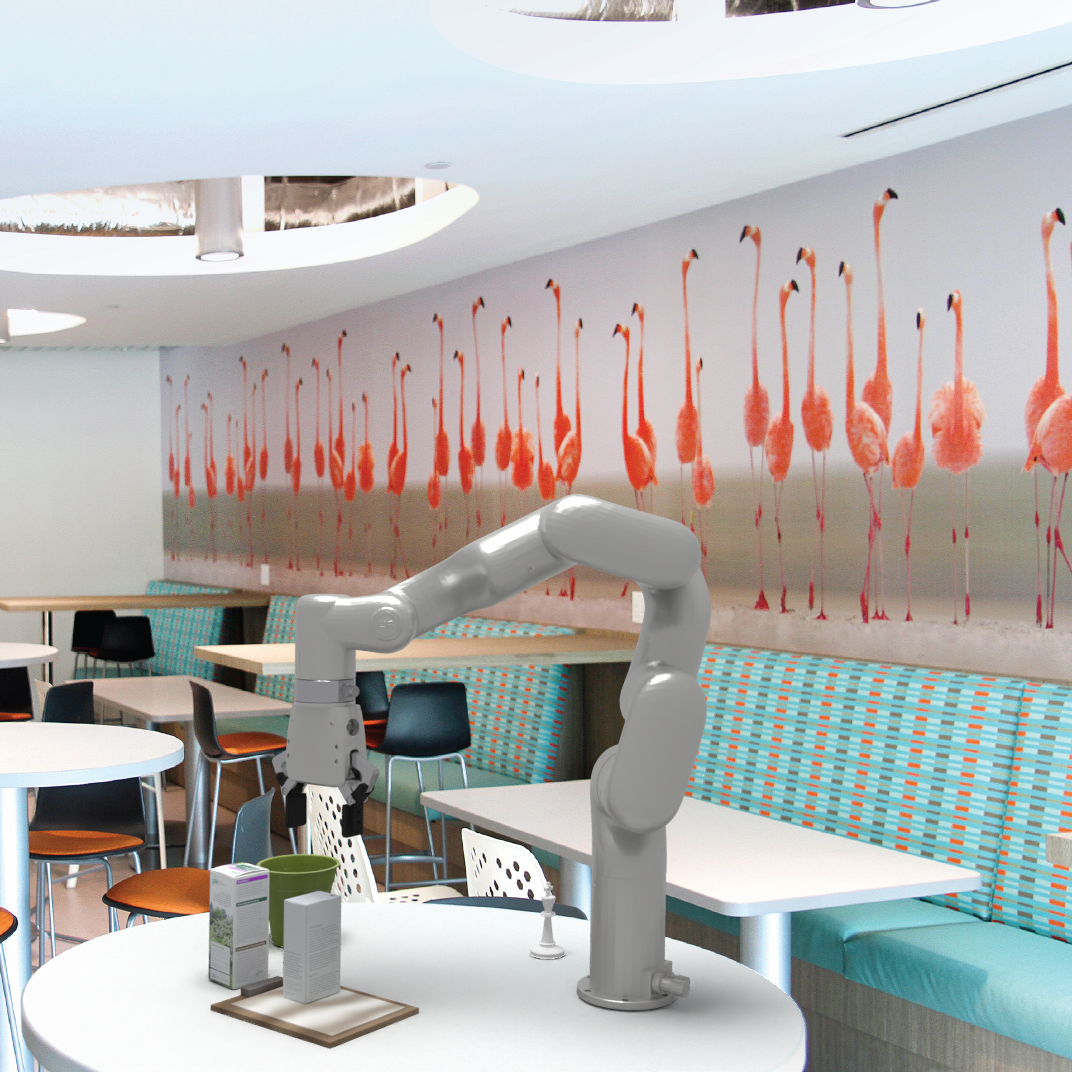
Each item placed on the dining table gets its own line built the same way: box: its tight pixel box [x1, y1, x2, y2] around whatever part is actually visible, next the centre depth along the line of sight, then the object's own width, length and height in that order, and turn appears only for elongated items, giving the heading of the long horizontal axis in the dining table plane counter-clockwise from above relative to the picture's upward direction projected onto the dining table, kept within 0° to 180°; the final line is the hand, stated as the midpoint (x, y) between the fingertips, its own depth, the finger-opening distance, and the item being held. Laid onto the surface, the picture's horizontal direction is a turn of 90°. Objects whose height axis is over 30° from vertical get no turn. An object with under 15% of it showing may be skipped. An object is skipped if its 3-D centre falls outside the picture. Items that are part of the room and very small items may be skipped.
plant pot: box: [255, 853, 341, 948], centre depth 185 cm, size 12×12×11 cm
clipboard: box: [210, 975, 420, 1049], centre depth 156 cm, size 20×15×2 cm
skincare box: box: [282, 891, 342, 1004], centre depth 160 cm, size 6×4×12 cm
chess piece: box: [529, 881, 566, 960], centre depth 182 cm, size 5×5×10 cm
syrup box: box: [207, 862, 270, 990], centre depth 167 cm, size 6×6×14 cm
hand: (323, 831), depth 161 cm, fingers open, 9 cm apart
